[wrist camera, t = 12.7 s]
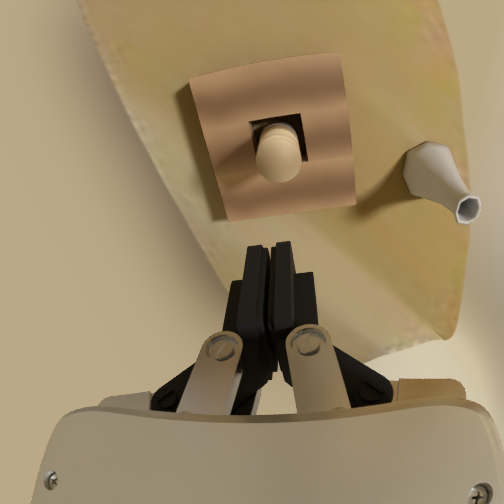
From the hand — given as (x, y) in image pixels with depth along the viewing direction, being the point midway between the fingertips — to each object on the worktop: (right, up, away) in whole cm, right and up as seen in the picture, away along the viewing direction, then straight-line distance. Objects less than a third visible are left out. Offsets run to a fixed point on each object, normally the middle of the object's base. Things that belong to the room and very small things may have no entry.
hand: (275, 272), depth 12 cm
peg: (+2, +13, +18) cm, 23 cm away
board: (+2, +13, +18) cm, 23 cm away
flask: (+20, +11, +19) cm, 29 cm away
